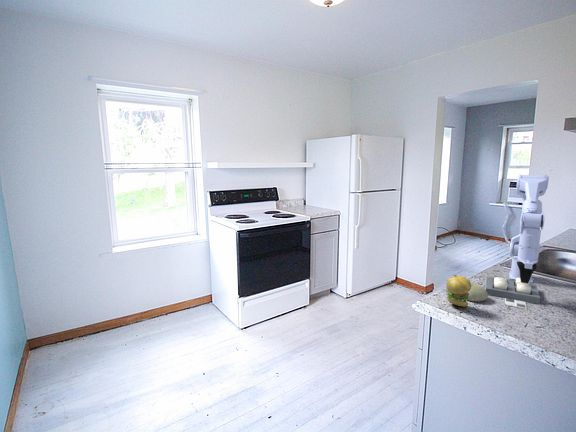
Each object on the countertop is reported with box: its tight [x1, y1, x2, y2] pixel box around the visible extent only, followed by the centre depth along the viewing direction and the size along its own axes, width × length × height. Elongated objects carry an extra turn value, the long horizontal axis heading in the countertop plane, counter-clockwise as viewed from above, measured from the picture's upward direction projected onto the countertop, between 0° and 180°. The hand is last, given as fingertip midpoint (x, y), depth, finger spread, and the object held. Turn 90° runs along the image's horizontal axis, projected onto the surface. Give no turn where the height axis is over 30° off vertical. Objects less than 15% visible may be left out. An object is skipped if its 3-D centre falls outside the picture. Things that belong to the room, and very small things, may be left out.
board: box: [485, 276, 541, 305], centre depth 120 cm, size 15×16×2 cm
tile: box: [504, 298, 528, 310], centre depth 110 cm, size 6×6×1 cm
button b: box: [494, 280, 508, 291], centre depth 118 cm, size 4×4×3 cm
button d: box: [516, 283, 531, 295], centre depth 115 cm, size 4×4×3 cm
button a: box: [494, 276, 508, 282], centre depth 124 cm, size 4×4×3 cm
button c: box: [515, 278, 531, 286], centre depth 120 cm, size 4×4×3 cm
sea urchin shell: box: [467, 283, 489, 303], centre depth 115 cm, size 9×8×8 cm
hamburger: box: [446, 274, 472, 308], centre depth 107 cm, size 8×7×12 cm
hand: (524, 282), depth 114 cm, fingers closed
